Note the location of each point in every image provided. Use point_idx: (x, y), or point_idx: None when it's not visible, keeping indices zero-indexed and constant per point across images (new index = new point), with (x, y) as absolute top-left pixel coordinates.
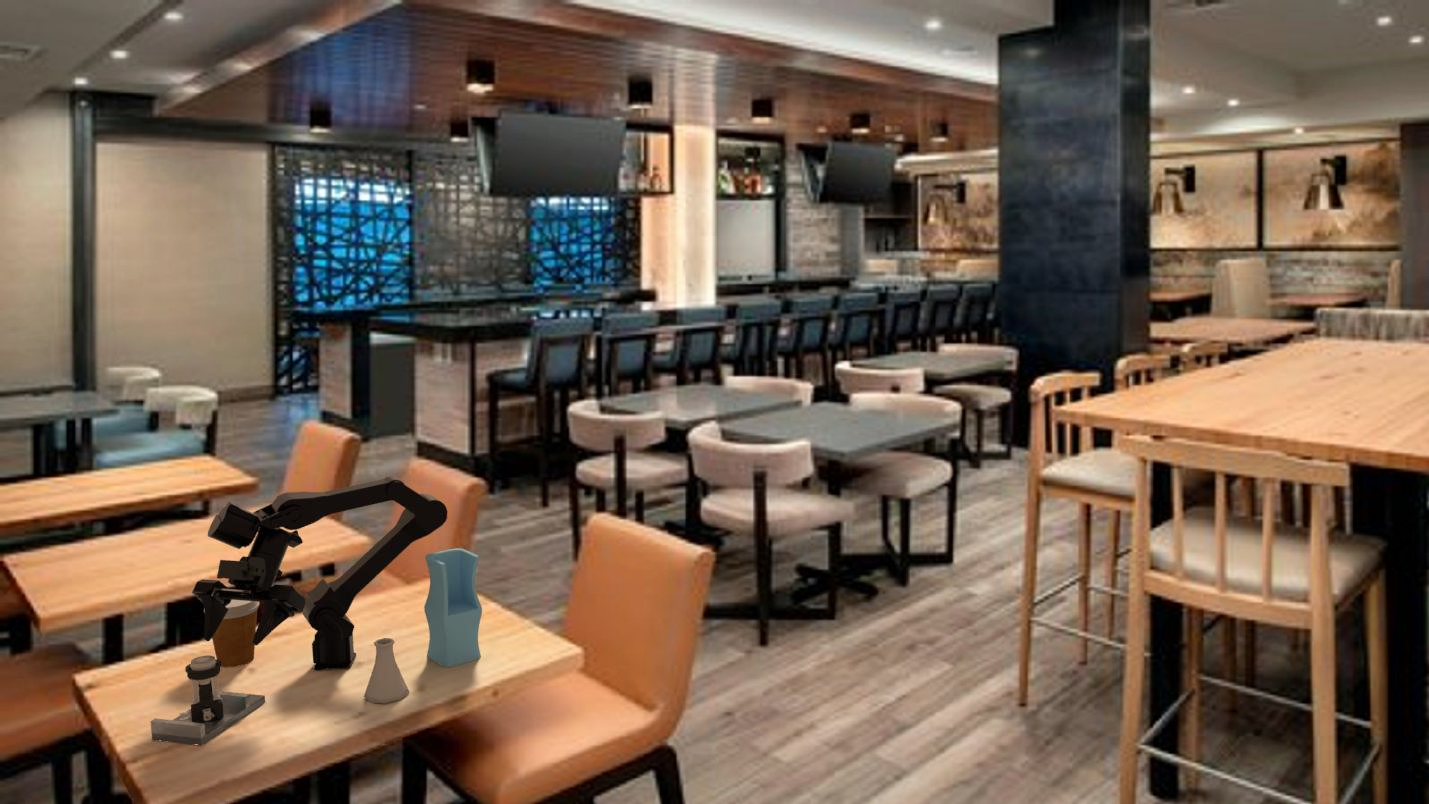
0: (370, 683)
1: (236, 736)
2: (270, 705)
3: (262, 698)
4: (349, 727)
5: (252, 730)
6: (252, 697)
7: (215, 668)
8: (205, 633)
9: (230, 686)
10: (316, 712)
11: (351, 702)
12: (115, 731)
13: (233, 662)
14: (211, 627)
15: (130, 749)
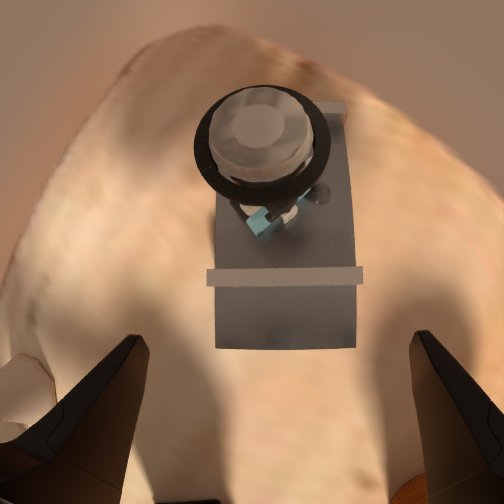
0: (25, 383)
1: (179, 178)
2: (197, 331)
3: (216, 337)
4: (27, 265)
5: (162, 209)
6: (239, 332)
7: (196, 133)
8: (437, 347)
9: (365, 405)
10: (90, 313)
11: (61, 362)
12: (437, 146)
13: (416, 483)
14: (434, 393)
15: (348, 92)
